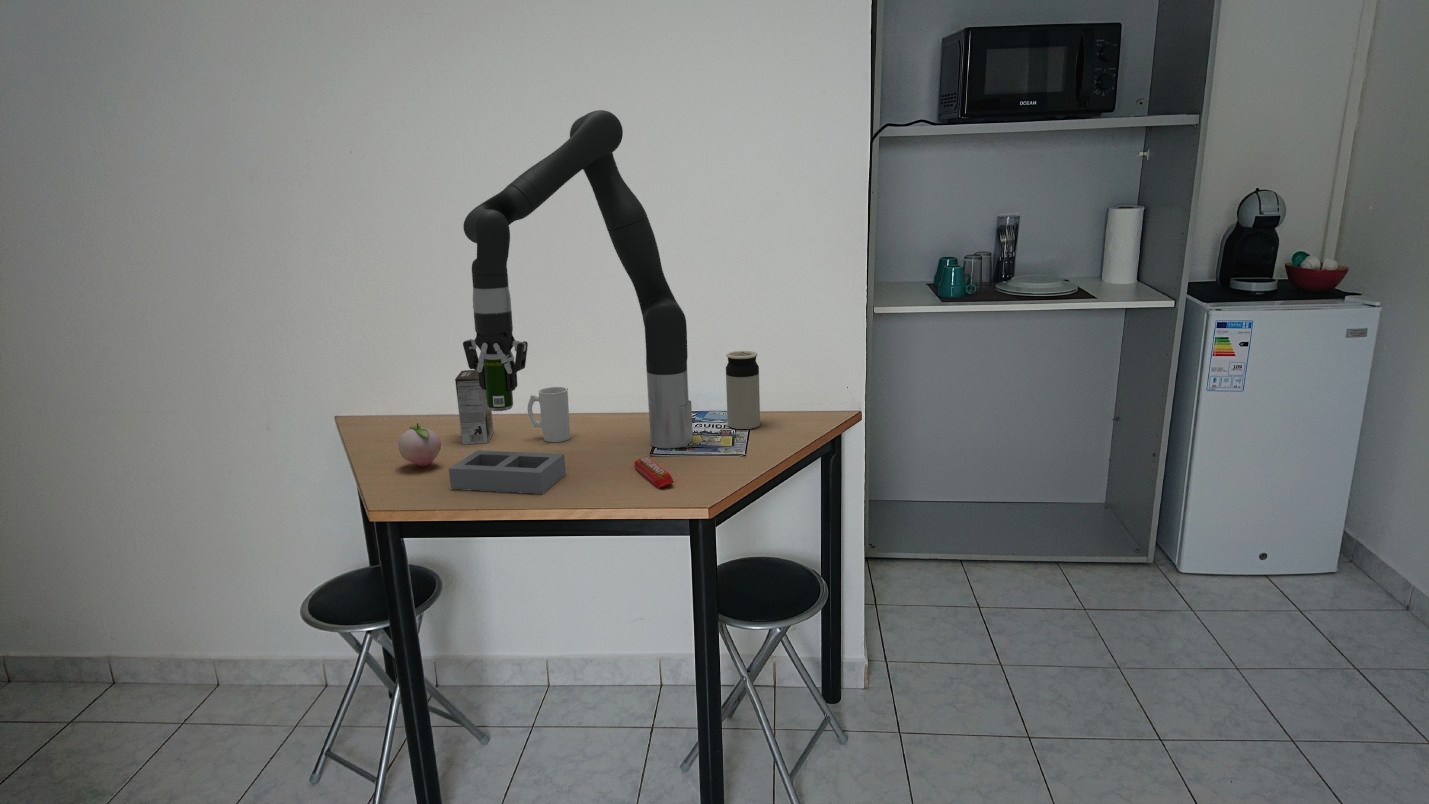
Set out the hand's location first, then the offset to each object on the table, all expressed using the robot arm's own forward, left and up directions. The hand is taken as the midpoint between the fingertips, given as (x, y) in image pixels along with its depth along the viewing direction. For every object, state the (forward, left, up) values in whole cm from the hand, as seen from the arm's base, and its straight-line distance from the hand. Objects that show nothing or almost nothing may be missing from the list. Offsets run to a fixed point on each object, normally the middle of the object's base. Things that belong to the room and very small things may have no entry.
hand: (498, 389), depth 187 cm
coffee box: (+19, -22, -18) cm, 35 cm away
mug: (+1, -24, -18) cm, 31 cm away
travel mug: (-43, -40, -18) cm, 62 cm away
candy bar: (-32, -1, -19) cm, 37 cm away
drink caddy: (-3, +6, -18) cm, 19 cm away
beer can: (0, 0, -4) cm, 4 cm away
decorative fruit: (+21, 0, -18) cm, 28 cm away
